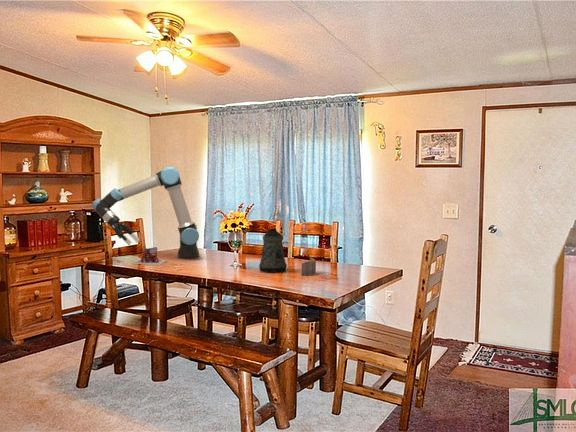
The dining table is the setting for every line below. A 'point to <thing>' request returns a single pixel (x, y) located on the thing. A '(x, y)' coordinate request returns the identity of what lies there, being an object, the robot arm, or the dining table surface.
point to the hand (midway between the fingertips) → (134, 242)
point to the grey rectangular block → (309, 267)
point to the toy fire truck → (150, 255)
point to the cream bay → (125, 258)
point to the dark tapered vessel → (272, 253)
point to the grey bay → (149, 263)
